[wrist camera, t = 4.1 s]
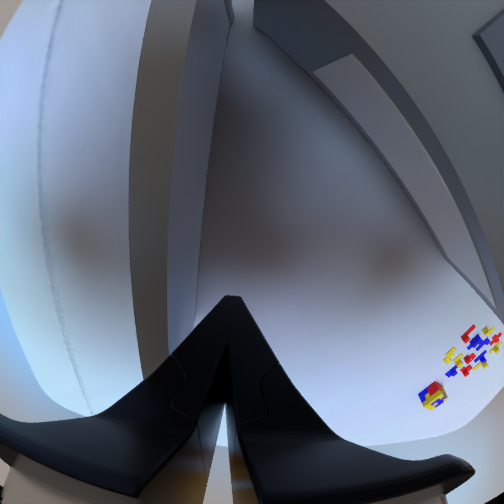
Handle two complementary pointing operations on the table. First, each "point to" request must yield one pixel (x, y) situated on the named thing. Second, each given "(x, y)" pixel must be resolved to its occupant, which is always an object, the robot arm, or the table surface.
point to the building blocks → (435, 391)
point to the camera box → (418, 107)
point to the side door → (172, 166)
